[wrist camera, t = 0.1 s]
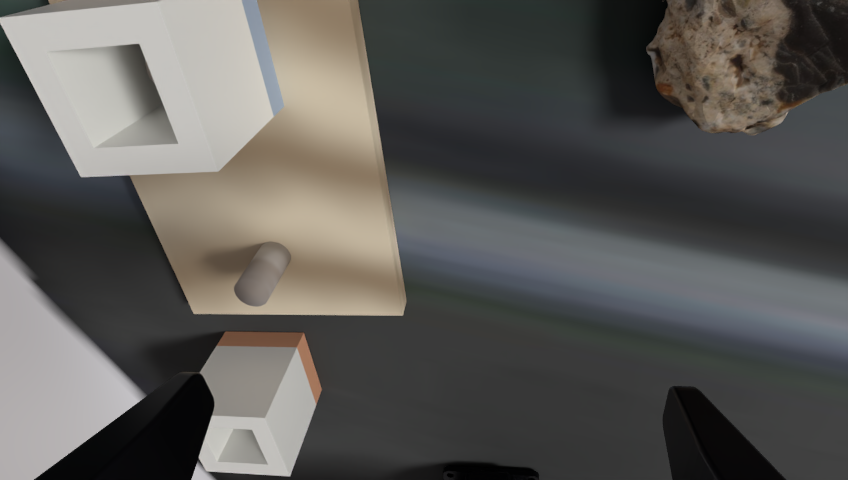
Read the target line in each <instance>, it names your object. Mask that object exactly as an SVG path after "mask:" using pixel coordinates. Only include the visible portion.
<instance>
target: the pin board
mask: <svg viewBox="0 0 848 480" xmlns="http://www.w3.org/2000/svg"><path fill="white" fill-rule="evenodd" d="M48 1H49V3H50V4H54V3H58V2H62V1H65V0H48ZM257 3H258V7H259V11H260V15H261V18H262V22H263V26H264V30H265V34H266V38H267V41H268V45H269V49H270V53H271V57H272V61H273V65H274V68H275V72H276V76H277V80H278V84H279V88H280V91H281V95H282V99H283V103H284V107H283V108H282V109H281V110H280V111H279V112H278V113H277V114H276V115H275V116H274V117H273V118H272V119H271V120H270V121H269V122H268V123H267V124H266V125H265V126H264V127H263V128H262V129H261V130H260V131H259V132H258V133H257V134H256V135H255V136H254V137H253V138H252V139H251V140H250V141H249V142H248V143H247V144H246V145H245V146H244V147H243V148H242V149H241V150H240V151H239V152H238V153H237V154H236V155H235V156H234V157H233V158H232V159H231V160H230V161H229V162H228V163H227V164H226V165H225V166H224V167H223V168H222V169H221V170H220V171H219V172H196V173H172V174H147V175H130V178H131V180H132V182H133V184H134V186H135V188H136V190H137V193H138V195H139V197H140V199H141V201H142V203H143V206H144V208H145V210H146V212H147V214H148V216H149V218H150V221H151V223H152V225H153V227H154V229H155V231H156V234H157V236H158V238H159V240H160V242H161V244H162V246H163V249H164V251H165V253H166V255H167V257H168V259H169V262H170V264H171V266H172V268H173V270H174V272H175V274H176V277H177V279H178V281H179V283H180V285H181V287H182V289H183V292H184V294H185V296H186V298H187V300H188V302H189V305H190V307H191V309H192V311H193V313H194V314H272V315H392V316H403V313H404V309H405V305H406V295H405V288H404V282H403V276H402V270H401V264H400V258H399V251H398V245H397V239H396V233H395V227H394V220H393V214H392V208H391V202H390V196H389V190H388V183H387V177H386V171H385V165H384V159H383V153H382V146H381V140H380V134H379V128H378V122H377V116H376V109H375V103H374V97H373V91H372V85H371V78H370V72H369V66H368V60H367V54H366V48H365V41H364V35H363V29H362V23H361V17H360V11H359V4H358V0H257ZM146 69H147V72H148V74H149V76H150V78H151V79H152V81H153V82H154V80H153V77H152V75H151V72H150V70H149V67H148V65H147V62H146Z"/></svg>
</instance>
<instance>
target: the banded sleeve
mask: <svg viewBox="0 0 848 480" xmlns="http://www.w3.org/2000/svg"><path fill="white" fill-rule="evenodd" d="M200 374H202V375H203V377H204V379H205V381H206V383H207V385H208V387H209V389H210V391H211V393H212V395H213V397H214V411H213V414H212V417H211V420H210V424H209V427H208V430H207V433H206V436H205V439H204V442H203V445H202V448H201V451H200V455H199V459H200V461H201V463H202V464H203V466H204V468H205V470H206V471H211V472H227V473H243V474H258V475H274V476H290V475H291V473H292V470H293V467H294V464H295V462H296V459H297V456H298V453H299V451H300V448H301V445H302V442H303V440H304V437H305V434H306V431H307V429H308V426H309V423H310V421H311V418H312V415H313V412H314V410H315V407H316V404H317V401H318V399H319V396H320V393H321V390H322V388H321V385H320V382H319V379H318V376H317V373H316V370H315V366H314V363H313V360H312V357H311V354H310V351H309V348H308V344H307V341H306V338H305V335H304V333H297V332H227V331H226V332H225V333H224V335H223V336H222V338H221V339H220V341H219V343H218V344H217V346H216V347H215V349H214V351H213V352H212V354H211V355H210V357H209V359H208V360H207V362H206V363H205V365H204V366H203V368H202V370H201V371H200Z"/></svg>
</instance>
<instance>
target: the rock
mask: <svg viewBox="0 0 848 480" xmlns="http://www.w3.org/2000/svg"><path fill="white" fill-rule="evenodd" d="M666 1H667V3H668V7H667V9H666V11H665V18H664V20H663V21H662V23H661V24H660V26H659V27H658V30H657V34H656V36H655V38H654V40H653V41H652V42H651V43H650V44H649V45H648V46H647V47H646V51H647V53H648V55H651V59H652V64H653V71H654V79H655V84H656V88H657V90H658V92H659V93H660V94H661V95H662V96H663V97H664V99H666V100H667V101H669V102H670V103H672V104H674V105H676V106H679V107H681V108H683V109H684V111H685V112H686V114H687V115H688V116H689V118H690V119H691V120H692V121H693V122H694V123H695V124H696V125H697V126H698V127H699V128H700V129H701V130H702V131H706V132H709V133H721V132H730V133H737V132H741V131H743V132H745V133H746V134H748V135H756V134H758V133H761V132H764V131H766V130H768V129H770V128H773V127H775V126H776V125H778V124H780V123H782V121H783V120H784V118H785V117H786V115H787V113H788V111H790V110H791V109H793V108H795V107H796V106H798V105H800V104H802V103H804V102H806V101H808V100H810V99H812V98H814V97H815V96H817V95H819V94H820V93H824V92H827V91H830V90H833V89H836V88H838V87H840V86H843V85H846V84H848V0H666ZM662 2H663V1H662Z"/></svg>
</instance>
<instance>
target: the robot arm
mask: <svg viewBox="0 0 848 480" xmlns="http://www.w3.org/2000/svg"><path fill="white" fill-rule="evenodd" d="M213 411H214V397H213V395H212V393H211V391H210V389H209V387H208V385H207V383H206V381H205V379H204V377H203V375H202V374H200V373H198V372H180V373H178V374H176V375H175V376H174V377H172V378H171V379H169V380H168V381H167V382H165V383H164V384H163V385H161V386H160V387H159V388H157V389H156V390H155V391H153V392H152V393H151V394H149V395H148V396H147V397H145V398H144V399H142V400H141V401H140V402H138V403H137V404H136V405H134V406H133V407H132V408H130V409H129V410H128V411H126V412H125V413H124V414H122V415H121V416H120V417H118V418H117V419H115V420H114V421H113V422H111V423H110V424H109V425H107V426H106V427H105V428H103V429H102V430H101V431H99V432H98V433H97V434H95V435H94V436H93V437H91V438H90V439H88V440H87V441H86V442H84V443H83V444H82V445H80V446H79V447H78V448H76V449H75V450H74V451H72V452H71V453H70V454H68V455H67V456H65V457H64V458H63V459H61V460H60V461H59V462H57V463H56V464H55V465H53V466H52V467H51V468H49V469H48V470H46V471H45V472H44V473H42V474H41V475H40V476H38V477H37V478H36V479H34V480H191V478H192V476H193V473H194V470H195V467H196V464H197V461H198V458H199V455H200V451H201V448H202V445H203V442H204V439H205V436H206V433H207V430H208V427H209V424H210V420H211V417H212V414H213ZM663 430H664V435H665V441H666V446H667V452H668V457H669V463H670V468H671V473H672V479H673V480H786V479H785V478H784V477H783V476H782V475H781V474H780V473H779V472H778V471H777V470H776V469H775V468H774V467H773V466H772V464H771V463H770V462H769V461H768V460H767V459H766V458H765V457H764V456H763V455H762V454H761V453H760V452H759V451H758V450H757V449H756V448H755V447H754V446H753V445H752V444H751V443H750V442H749V441H748V440H747V439H746V438H745V437H744V436H743V435H742V434H741V433H740V432H739V430H738V429H737V428H736V427H735V426H734V425H733V424H732V423H731V422H730V421H729V420H728V419H727V418H726V417H725V416H724V415H723V414H722V413H721V412H720V411H719V410H718V409H717V408H716V407H715V406H714V405H713V404H712V403H711V402H710V401H709V400H708V399H707V398H706V396H705V395H704V394H703V393H702V392H701V391H700V390H698V389H697V388H695V387H691V386H672V387H671V388H670V389H669V392H668V396H667V400H666V405H665V409H664V413H663ZM443 478H444V480H539V474H538V473H537V472H536V471H532V470H516V469H498V468H480V467H463V466H446V467H444V471H443Z"/></svg>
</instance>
